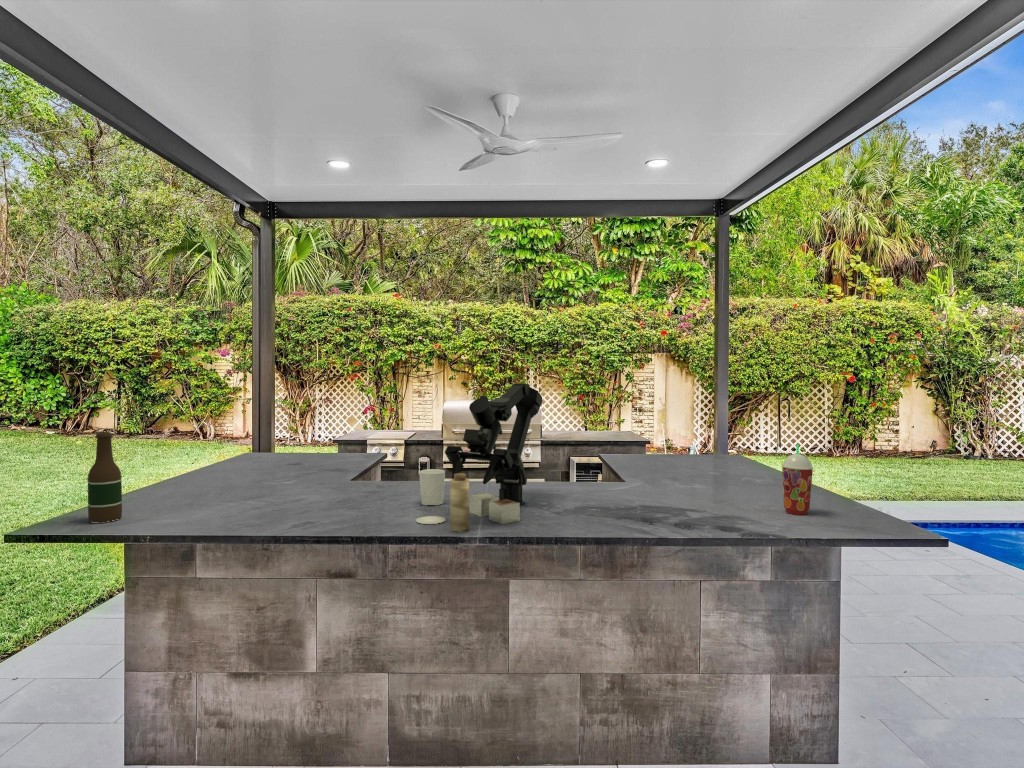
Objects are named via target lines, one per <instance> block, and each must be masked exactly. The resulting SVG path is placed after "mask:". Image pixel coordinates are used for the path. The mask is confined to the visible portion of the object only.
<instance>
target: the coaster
mask: <svg viewBox="0 0 1024 768" xmlns="http://www.w3.org/2000/svg"><path fill="white" fill-rule="evenodd" d="M444 521H445V522H446V518H444V517H443V516H437V515H436V516H435V515H427V516H421V517H418V518H416V519H415V523H416V522H418V523H421V524H420V525H423V524H435V525H439V524H438V523H441V524H443V523H442V522H444ZM445 522H444V523H445ZM418 523H417V524H418Z"/></svg>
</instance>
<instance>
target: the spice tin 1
mask: <svg viewBox="0 0 1024 768" xmlns="http://www.w3.org/2000/svg"><path fill="white" fill-rule="evenodd" d="M498 500H499V495H494V494H491V493H488V492H486V493H485V492H484V493H480V494H478V493H477V494H471V495H469V514H471V515H472V514H473V515H474V516H478V517H480V516H481V518H483V517H487V516H488V517H489V502H491V501H498ZM482 516H483V517H482Z"/></svg>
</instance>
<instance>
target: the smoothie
mask: <svg viewBox="0 0 1024 768" xmlns="http://www.w3.org/2000/svg"><path fill="white" fill-rule="evenodd" d="M795 446H796V451H795V453H793V454H790V455H789V456H788V455H787V457H786V458H785V460H784V461H783V463H782V464H781V471H782V472H781V473H782V491H783V493H782V494H783V507H784V509H785V512H786V513H787V514H790V515H795V516H804V515H807V514H808V513H809V512H808V511H809V510H810V508H811V507H810V506H811V498H812V497H811V495H812V494H811V493H812V484H813V483H812V481H813V472H814V471H813V470H814V466H813V465H812V463H811V461H810V459H809V458H808V457H807V456H805V455H803V454H800V453H799V452H800V445H799V444H796V445H795Z"/></svg>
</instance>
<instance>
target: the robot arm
mask: <svg viewBox="0 0 1024 768" xmlns="http://www.w3.org/2000/svg"><path fill="white" fill-rule="evenodd" d="M542 404H543V396H542V394H541V393H540V392H539V391H538V390H536V389H534V388H533V387H531V386H530V385H529V383H523V382H521V383H520V382H516V383H512V384H511V386H510V388H509V389H507V390H506V391H505V392H504V393H502V395H501V396H500V397H498V398H494V399H493V398H492V399H490V400H489V397H488V395H480V397H479V398H476V399H474V400H473V401H472V402H471V403H470V404H469V408H468V409H469V411H470V413H471V415H472V417H473V419H474V422H475V424H476V425H478V426H479V428H478V429H474V428H473V429H471V428H470V429H469V428H465V429H464V435H463V439H462V441H463V442H465V443H467V445H466V447H467V449H468V450H469V451H468V450H467V451H466V450H463V448H462V446H461V445H448V446H447V447H446V449H444V450H445V451H444V454H445V456H446V457H447V459H448V461H449V463H450V464H451V466H452V467H451V468H452V470H451V471H452V472H451V473H452V474H451V477H452V478H451V479H454V474H455V473H462V471H463V469H464V466H465V465H464V464H465V463H466V461H467V460H476V461H479V462H480V461H482V462H489V465H488V467H487V469H486V471H485V474H484V476H483V480H482V483H483V485H486V484H487V483H489V482H490V481H491V480H492V479H494V480H495V484H499V489H498V497H499V500H504V499H508V500H512V501H515V502H518V503H520V505H523V504H526V501H524V500H523V486H526V485H527V482H528V475H527V473H526V471H525V469H524V466H525V465H524V462H523V460H522V453H523V451H524V446H525V442H526V439H527V435H528V433H529V428H530V424H531V423H532V422H531V420H532V419H533V418H534V417H535V416H536V415H537V414H538V413H539V412H540V408H541V407H542ZM513 408H515V410H516V416H515V420H514V423H513V428H512V431H511V434H510V437H509V441H508V444H507V447H506V448H497V445H496V442H497V440H498V437H499V436H501V435H503V429H502V424H501V422H507V421H509V419H510V418H511V416H512V415H513V414H512V409H513Z"/></svg>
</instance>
